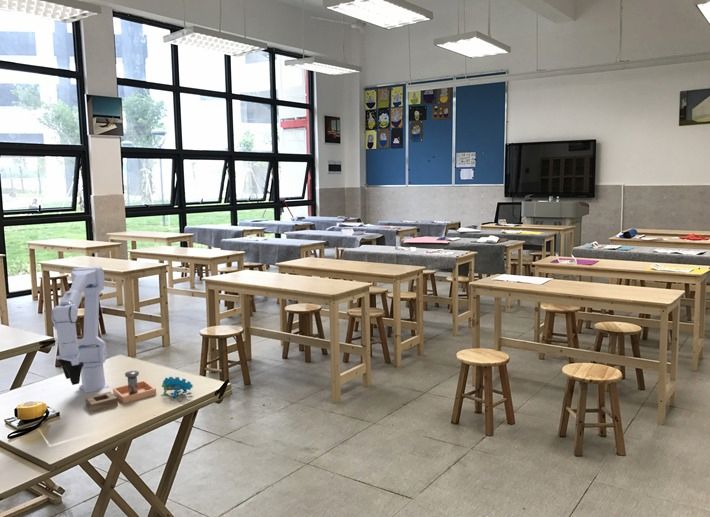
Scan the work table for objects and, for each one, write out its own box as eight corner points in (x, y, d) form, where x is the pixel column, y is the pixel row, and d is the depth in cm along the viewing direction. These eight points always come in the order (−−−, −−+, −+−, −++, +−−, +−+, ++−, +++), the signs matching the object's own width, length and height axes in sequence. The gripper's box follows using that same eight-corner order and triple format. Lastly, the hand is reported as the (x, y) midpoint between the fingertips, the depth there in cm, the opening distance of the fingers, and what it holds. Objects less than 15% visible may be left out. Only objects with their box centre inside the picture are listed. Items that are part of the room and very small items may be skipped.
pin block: (86, 406, 203) (85, 397, 202) (111, 399, 207) (110, 391, 207) (93, 413, 196) (91, 404, 196) (118, 406, 201) (117, 397, 201)
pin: (125, 394, 210) (123, 372, 209) (137, 391, 213) (136, 369, 212) (128, 397, 207) (127, 376, 206) (141, 394, 209) (140, 373, 208)
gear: (198, 386, 212) (182, 374, 204) (194, 402, 208) (178, 390, 201) (172, 388, 215) (155, 376, 208) (167, 403, 212) (150, 392, 205)
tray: (113, 395, 211) (112, 388, 211) (145, 387, 218) (144, 380, 218) (123, 404, 203) (122, 397, 202) (156, 395, 209) (155, 388, 209)
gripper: (49, 339, 201) (54, 378, 203) (59, 348, 190) (65, 390, 192) (72, 334, 205) (76, 373, 208) (83, 343, 194) (88, 384, 196)
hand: (72, 380), depth 200 cm, fingers open, 7 cm apart
